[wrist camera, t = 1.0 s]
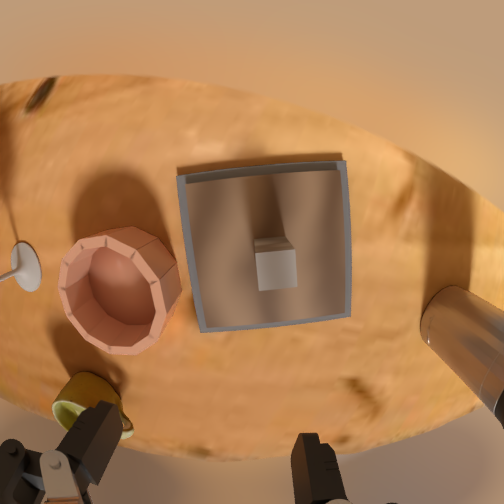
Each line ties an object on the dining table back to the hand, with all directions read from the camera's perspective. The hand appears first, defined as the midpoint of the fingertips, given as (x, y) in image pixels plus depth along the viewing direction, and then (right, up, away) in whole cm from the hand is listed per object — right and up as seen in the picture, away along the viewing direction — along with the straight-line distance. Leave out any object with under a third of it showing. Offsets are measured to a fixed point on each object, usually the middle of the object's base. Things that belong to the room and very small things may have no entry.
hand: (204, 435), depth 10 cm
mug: (-20, -14, +24) cm, 34 cm away
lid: (+4, +8, +18) cm, 20 cm away
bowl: (-12, +5, +19) cm, 23 cm away
